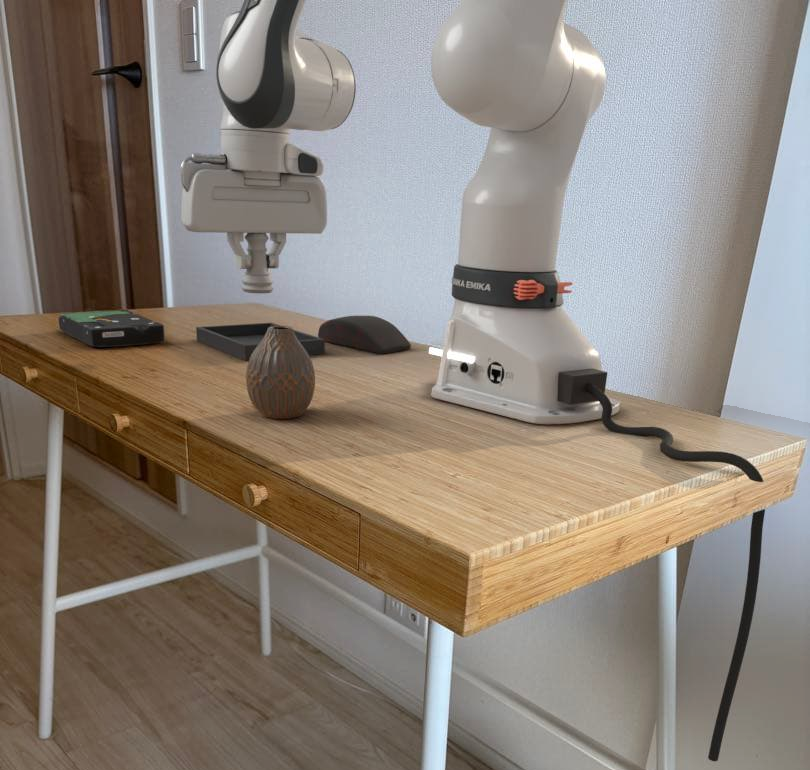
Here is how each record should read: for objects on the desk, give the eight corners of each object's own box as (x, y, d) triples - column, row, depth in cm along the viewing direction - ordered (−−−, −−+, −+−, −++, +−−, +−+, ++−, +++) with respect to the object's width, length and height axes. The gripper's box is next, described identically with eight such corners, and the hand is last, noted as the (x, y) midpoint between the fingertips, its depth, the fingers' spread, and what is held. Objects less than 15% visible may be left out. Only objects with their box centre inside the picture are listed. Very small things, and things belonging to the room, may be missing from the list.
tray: (324, 353, 116) (324, 339, 115) (245, 360, 109) (245, 345, 108) (271, 335, 127) (271, 322, 126) (196, 341, 120) (196, 327, 119)
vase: (276, 427, 81) (275, 335, 78) (233, 412, 85) (230, 325, 82) (328, 415, 86) (329, 329, 82) (285, 402, 90) (284, 319, 86)
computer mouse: (348, 335, 130) (349, 309, 129) (415, 349, 122) (416, 321, 121) (311, 340, 125) (311, 313, 123) (378, 355, 117) (379, 326, 115)
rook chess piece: (277, 290, 117) (276, 230, 114) (269, 294, 113) (268, 231, 109) (246, 288, 117) (244, 228, 114) (237, 292, 113) (235, 229, 110)
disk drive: (167, 344, 117) (127, 326, 127) (166, 324, 116) (125, 308, 126) (93, 350, 111) (57, 331, 121) (91, 329, 110) (55, 311, 120)
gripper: (190, 152, 100) (195, 272, 105) (334, 162, 112) (332, 269, 117) (169, 151, 104) (175, 266, 110) (309, 161, 116) (309, 264, 122)
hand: (257, 268), depth 114 cm, fingers closed on rook chess piece, 3 cm apart
